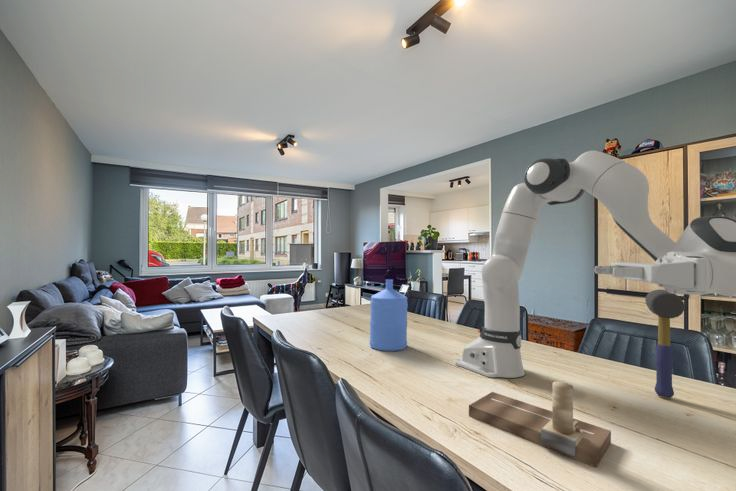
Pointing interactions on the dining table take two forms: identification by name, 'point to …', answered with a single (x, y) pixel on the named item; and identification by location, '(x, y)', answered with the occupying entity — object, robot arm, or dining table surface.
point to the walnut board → (538, 425)
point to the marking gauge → (562, 421)
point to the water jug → (388, 319)
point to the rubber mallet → (664, 337)
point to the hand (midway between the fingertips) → (603, 270)
